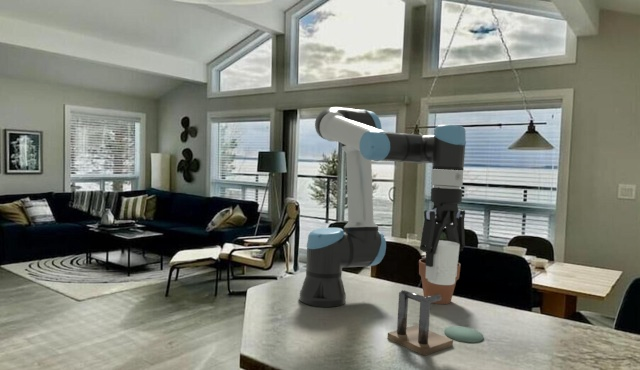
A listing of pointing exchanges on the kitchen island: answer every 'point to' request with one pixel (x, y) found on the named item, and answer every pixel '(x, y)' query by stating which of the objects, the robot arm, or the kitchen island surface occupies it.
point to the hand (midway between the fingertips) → (441, 277)
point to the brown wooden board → (411, 342)
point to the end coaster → (463, 334)
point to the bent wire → (422, 318)
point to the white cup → (446, 262)
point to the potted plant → (435, 289)
